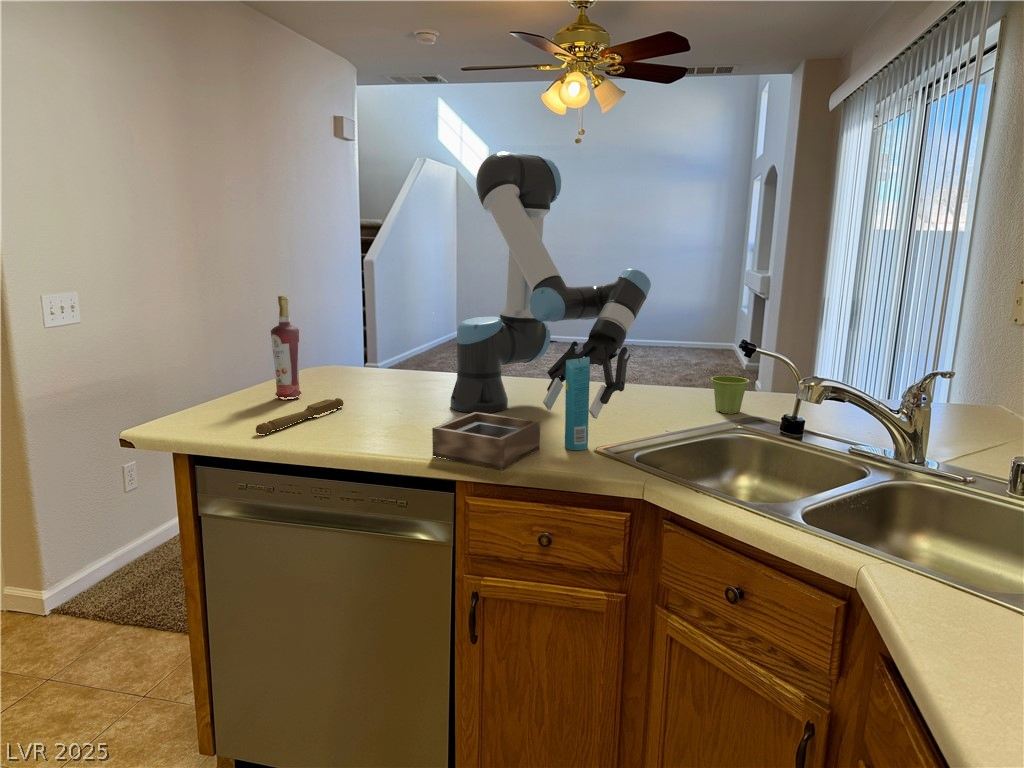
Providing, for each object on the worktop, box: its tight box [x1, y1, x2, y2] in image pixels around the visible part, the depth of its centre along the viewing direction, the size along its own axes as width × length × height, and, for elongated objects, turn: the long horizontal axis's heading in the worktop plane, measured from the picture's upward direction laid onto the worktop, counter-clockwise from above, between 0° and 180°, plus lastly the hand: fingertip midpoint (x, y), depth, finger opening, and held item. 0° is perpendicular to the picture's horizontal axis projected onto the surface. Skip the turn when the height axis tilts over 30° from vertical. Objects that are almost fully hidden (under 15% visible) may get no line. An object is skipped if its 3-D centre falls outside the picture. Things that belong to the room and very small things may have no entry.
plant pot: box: [710, 375, 750, 415], centre depth 177 cm, size 9×9×9 cm
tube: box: [564, 356, 591, 451], centre depth 142 cm, size 7×5×19 cm, turn 140°
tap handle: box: [255, 397, 345, 434], centre depth 164 cm, size 3×3×30 cm
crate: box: [431, 412, 541, 471], centre depth 139 cm, size 16×16×6 cm
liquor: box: [270, 295, 302, 398], centre depth 184 cm, size 7×7×28 cm
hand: (569, 410), depth 140 cm, fingers open, 11 cm apart
